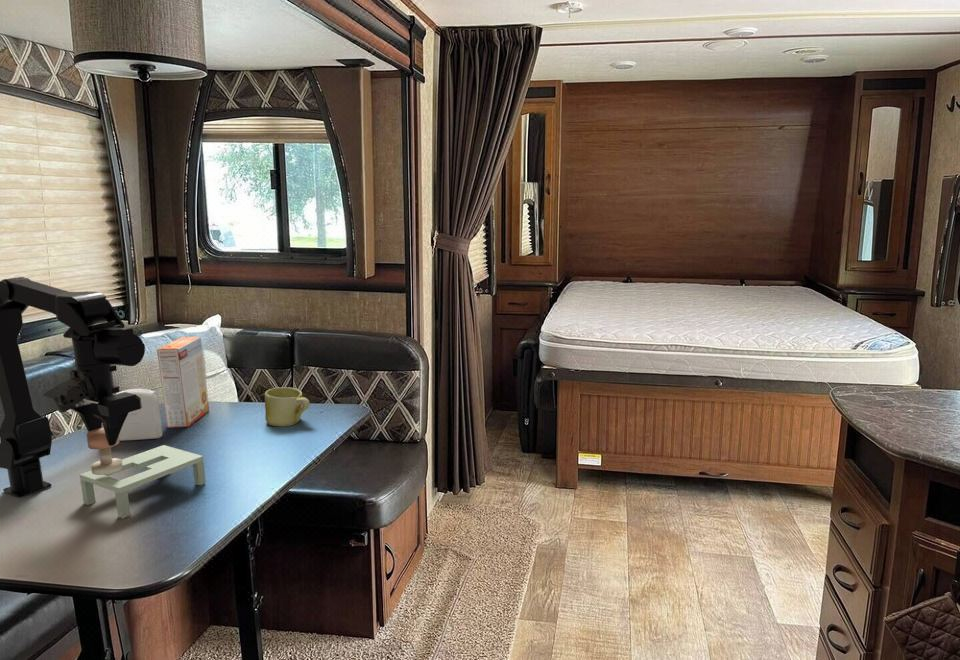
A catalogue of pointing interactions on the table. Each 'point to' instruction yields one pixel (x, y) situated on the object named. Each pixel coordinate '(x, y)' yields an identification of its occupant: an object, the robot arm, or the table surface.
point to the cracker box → (183, 381)
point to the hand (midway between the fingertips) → (103, 442)
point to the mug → (284, 406)
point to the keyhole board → (142, 474)
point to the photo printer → (142, 418)
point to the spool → (103, 453)
